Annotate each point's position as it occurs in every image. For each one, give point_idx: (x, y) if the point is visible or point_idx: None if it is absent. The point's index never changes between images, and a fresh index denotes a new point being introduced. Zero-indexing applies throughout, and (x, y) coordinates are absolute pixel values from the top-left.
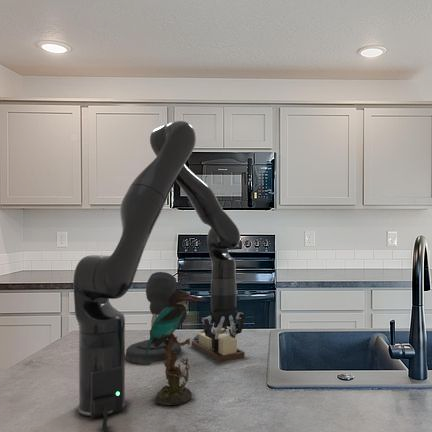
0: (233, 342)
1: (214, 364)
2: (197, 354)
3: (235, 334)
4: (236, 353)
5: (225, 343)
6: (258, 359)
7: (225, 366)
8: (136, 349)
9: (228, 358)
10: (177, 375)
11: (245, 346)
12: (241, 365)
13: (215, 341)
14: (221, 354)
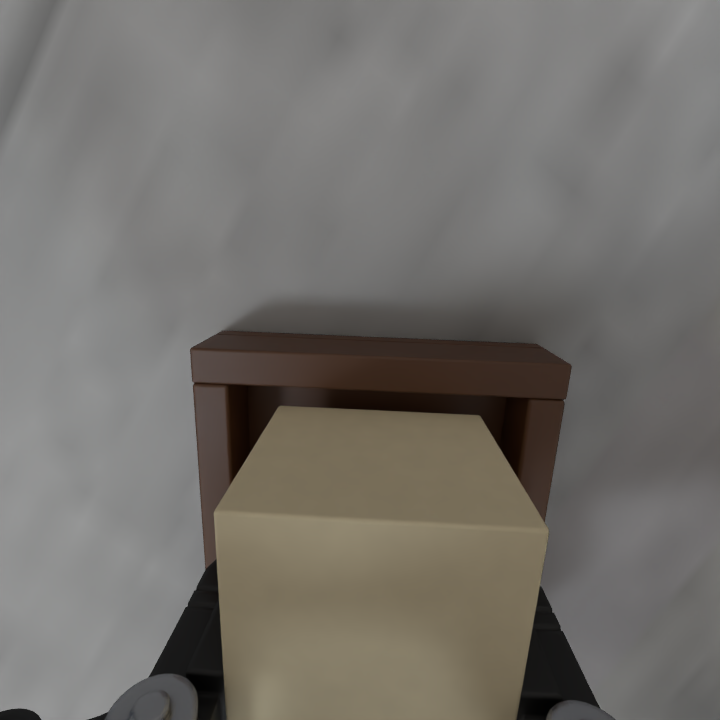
0: (304, 484)
1: (581, 372)
2: None
3: (135, 702)
4: (312, 357)
5: (478, 499)
6: (92, 214)
7: (531, 237)
8: None
9: (432, 349)
10: None
11: (41, 644)
12: (365, 147)
13: (556, 680)
14: None
